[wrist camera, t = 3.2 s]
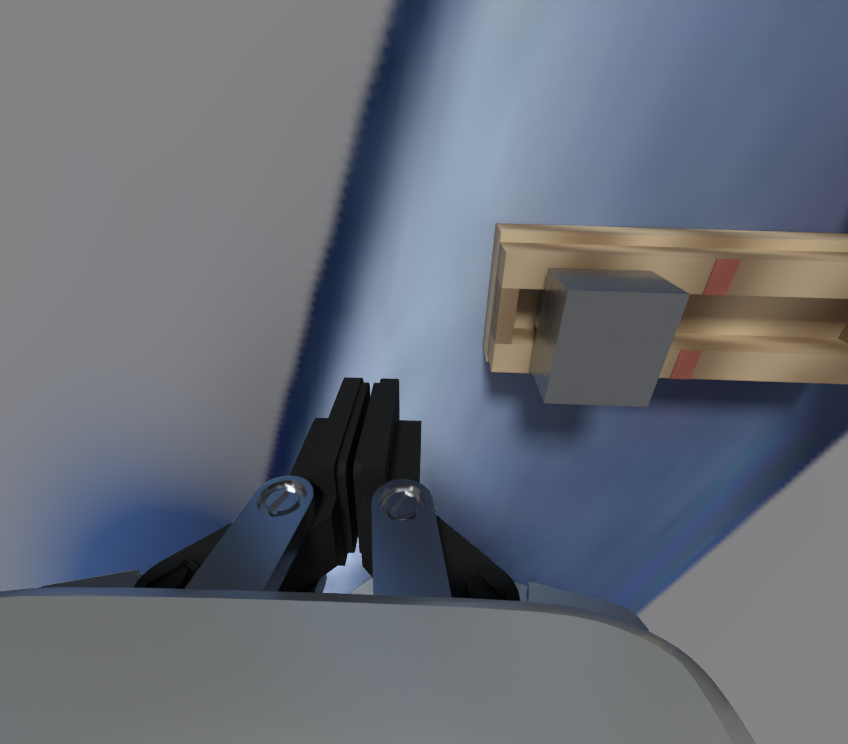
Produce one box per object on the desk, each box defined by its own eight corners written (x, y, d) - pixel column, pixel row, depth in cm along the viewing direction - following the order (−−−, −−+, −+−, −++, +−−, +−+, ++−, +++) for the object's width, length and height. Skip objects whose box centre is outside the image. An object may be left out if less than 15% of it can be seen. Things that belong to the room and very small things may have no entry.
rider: (522, 349, 21) (544, 403, 17) (537, 255, 19) (568, 290, 14) (604, 351, 21) (647, 406, 17) (630, 258, 19) (690, 294, 14)
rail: (482, 348, 24) (490, 384, 20) (496, 223, 20) (507, 240, 17) (800, 359, 24) (863, 397, 20) (872, 234, 20) (964, 253, 16)
